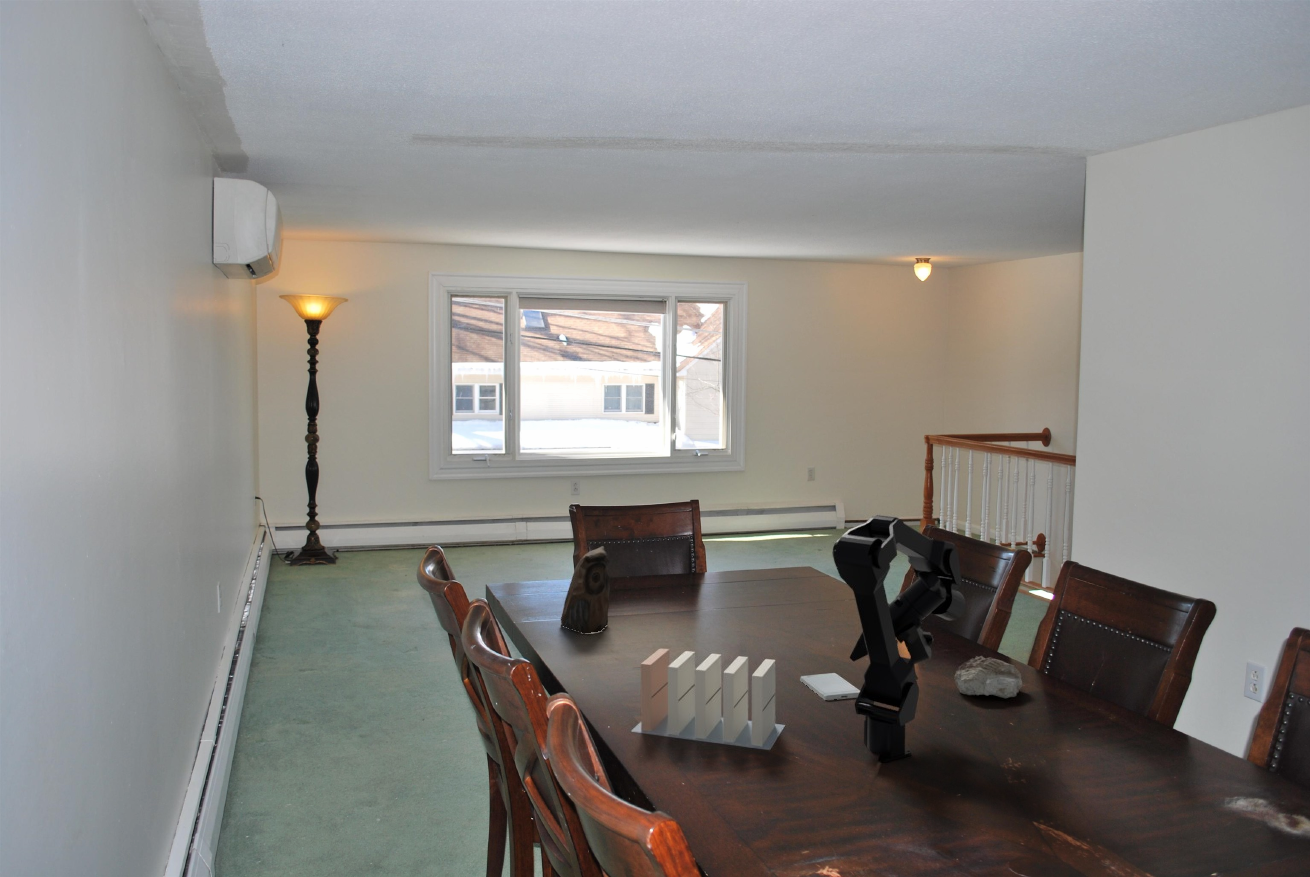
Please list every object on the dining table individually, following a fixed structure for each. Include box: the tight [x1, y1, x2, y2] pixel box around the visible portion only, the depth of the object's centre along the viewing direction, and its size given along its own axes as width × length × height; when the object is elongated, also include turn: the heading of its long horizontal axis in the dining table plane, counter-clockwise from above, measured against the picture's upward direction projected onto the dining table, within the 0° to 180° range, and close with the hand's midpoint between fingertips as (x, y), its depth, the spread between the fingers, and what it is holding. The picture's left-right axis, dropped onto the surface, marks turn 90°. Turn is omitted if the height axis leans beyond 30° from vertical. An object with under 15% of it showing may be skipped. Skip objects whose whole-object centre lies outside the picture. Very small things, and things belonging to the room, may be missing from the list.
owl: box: [560, 545, 611, 633], centre depth 239 cm, size 13×13×20 cm
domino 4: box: [722, 655, 749, 743], centre depth 167 cm, size 2×10×12 cm, turn 160°
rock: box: [954, 655, 1024, 699], centre depth 190 cm, size 14×9×10 cm
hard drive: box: [799, 672, 861, 701], centre depth 193 cm, size 2×8×12 cm
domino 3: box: [695, 653, 722, 739], centre depth 169 cm, size 2×10×12 cm, turn 160°
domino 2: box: [668, 650, 696, 735], centre depth 170 cm, size 2×10×12 cm, turn 160°
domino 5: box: [751, 658, 777, 746], centre depth 165 cm, size 2×10×12 cm, turn 160°
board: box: [631, 715, 786, 751], centre depth 169 cm, size 25×12×1 cm, turn 70°
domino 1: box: [640, 648, 670, 732], centre depth 172 cm, size 2×10×12 cm, turn 160°
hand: (851, 659), depth 174 cm, fingers closed
